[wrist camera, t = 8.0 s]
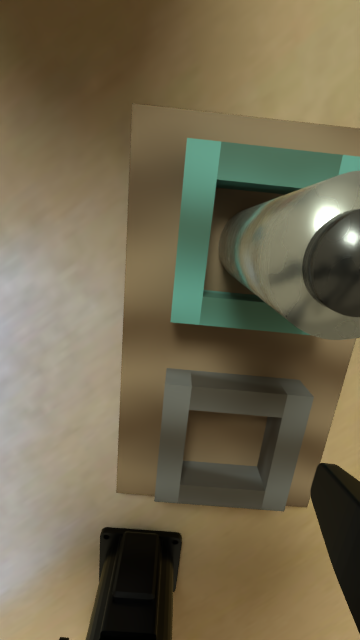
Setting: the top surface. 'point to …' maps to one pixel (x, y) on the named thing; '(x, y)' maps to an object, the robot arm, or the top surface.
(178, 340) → the dock plate
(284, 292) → the steel pin
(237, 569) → the top surface
